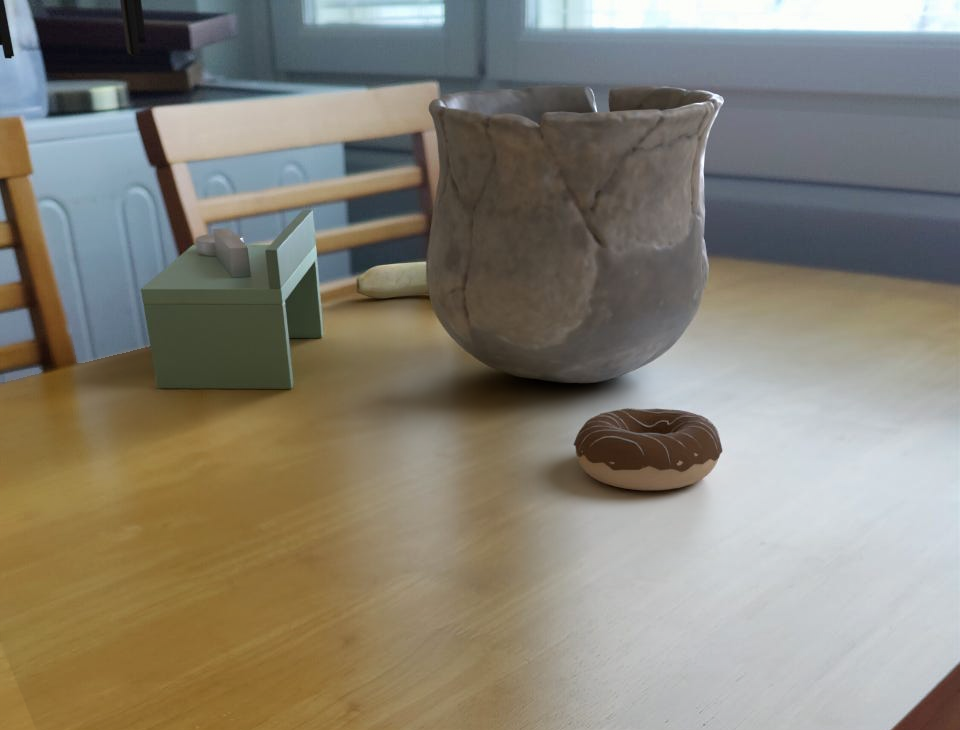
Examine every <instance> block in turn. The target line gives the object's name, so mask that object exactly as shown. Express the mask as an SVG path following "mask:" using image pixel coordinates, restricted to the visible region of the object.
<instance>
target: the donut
mask: <svg viewBox="0 0 960 730" xmlns="http://www.w3.org/2000/svg"><path fill="white" fill-rule="evenodd" d="M720 438H721V437H720V434H719V431H718V428H717V427H716V425H714V424H713V422H712V421H710V420H709V419H708V418H706V417H705V416H703V415H702V414H696V413H694V412H690V411H687V410H682V409H667V408H642V409H641V408H640V409H639V408H629V407H627V408H621V409H615V410H611V411H607V412H602V413H601V412H600V413H599V414H597V415H595V416H593V417H591V418H589V419H588V420H587V421H585V423H584V424H583V425H582V427H581V428H580V430H579V431H578V432H577V435H576V437H575V439H574V442H573V444H572V445H573V446H574V447H575V454H576V458H577V462H578V463H579V465H580V467H581V469H583V471H585V473H586V474H587V475H589V476H590V477H591V478H592V479H594V480H596V481H598V482H601V483H603V484H605V485H609V486H611V487H615V488H621V489H625V490H633V491H668V490H674V489H679V488H683V487H687V486H690V485H693V484H695V483H698V482H699V481H701V480H702V479H704V478H705V477H707V476H708V475H709V474H710V473H711V472H712V471H713V470H714V468H715V467H716V465H717V463H718V461H719V459H720V457H721V456H720V455H721V454H722V453H723V447H722V443H721V439H720Z"/></svg>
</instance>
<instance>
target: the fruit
mask: <svg viewBox="0 0 960 730" xmlns="http://www.w3.org/2000/svg"><path fill="white" fill-rule="evenodd" d="M355 281H356V283H355V284H356V287H355V289H356V294H357V293H358V294H360V295H363V296H366V297H369V298H373V299H392V298H399V297H408V296H420V295H421V296H422V295H430V293H429V290H428V286H427V282H426V261H417V262H416V261H415V262H400V263H391V264H389V263H388V264H382V265H381V264H380V265H375V266H373V267H370V268H368V269H367V270H366V271H364V272H363V273H361V274H360V275H359V276H357V278H356V280H355Z"/></svg>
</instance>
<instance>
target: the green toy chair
mask: <svg viewBox="0 0 960 730" xmlns="http://www.w3.org/2000/svg"><path fill="white" fill-rule="evenodd" d="M316 241H317V240H316V229H315V218H314V210H313V209H302V210H301V211H300V212H299V213H298V215H296V217H295V218H293V220H292V221H291V222H290V223H288V225H287V226H286V227H285V228H284V229H283V230H282V231H281V232H280V234H278V236H277V237H276V238H275V239H274V240H273V241H272V242H271V243H270V244H245V245H246V246H247V247H248V255H249V264H250V272H251V277H242V278H233V277H232V276H231V275H230V274H229V272H228V271H227V270H226V268H225V267H224V266H223V265H222V263H221V262H220V261H219V260H218V258H217V257H212V256H203V255H200V254H198V253H197V248H196V244H192V245H191V246H190V247H188V248H187V249H185V251H184V252H183V253H181V254H180V255H179V256H178V257H177V258H175V259H174V260H173V261H172V262H171V263H169V264H168V265H167V266H166V267H165V268H164V269H162V270H161V271H160V272H159V273H158V274H157V275H155V276H154V277H153V278H152V279H151V280H149V281H148V282H147V283H146V284H145V285H144V286H143V287H141V288H140V293H141V298H142V304H143V311H144V316H145V323H146V328H147V335H148V340H149V346H150V351H151V352H150V353H151V359H152V364H153V370H154V374H155V375H154V376H155V382H156V387H157V389H172V390H173V389H174V390H175V389H179V390H180V389H182V390H183V389H185V390H186V389H188V390H191V389H193V390H196V389H197V390H198V389H200V390H207V389H208V390H211V389H212V390H225V389H226V390H292V388H293V387H294V376H293V364H292V355H291V345H290V339H323V337H324V333H325V332H324V323H323V311H322V309H323V308H322V298H321V288H320V276H319V263H318V252H317V245H316V244H317V242H316Z"/></svg>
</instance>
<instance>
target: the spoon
mask: <svg viewBox="0 0 960 730" xmlns="http://www.w3.org/2000/svg"><path fill="white" fill-rule="evenodd" d="M194 239H195V241H194V242H195V245H196V248H197V253H198V254H200V255H203V256H212V257H217V258H218V260H219V261H220V262H221V263H222V265H223V266H224V267H225V268H226V270H227V271H228V272H229V274H230V275H231V276H232V277H233V278H242V277H251V272H250V264H249V255H248V247H247V246H246V245H247V244H245V241H244V236H243V235H241V234H238V233H236V232H235V231H234V230H233V229H232V228H230V227H222V228H213V229H212V233H208V234H207V233H206V234H202V235H199V236H197V237H196V238H194Z"/></svg>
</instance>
